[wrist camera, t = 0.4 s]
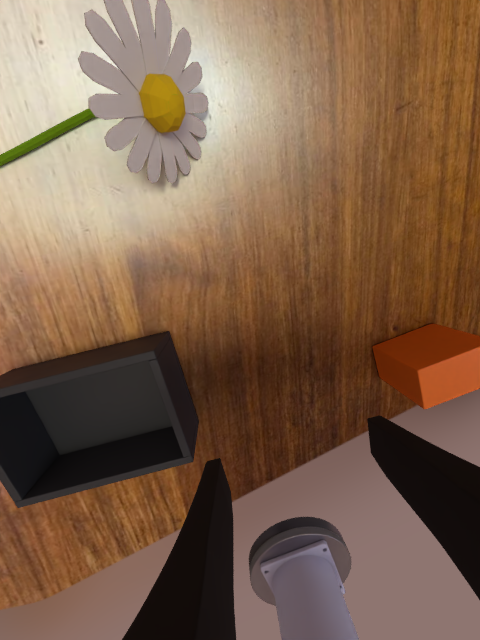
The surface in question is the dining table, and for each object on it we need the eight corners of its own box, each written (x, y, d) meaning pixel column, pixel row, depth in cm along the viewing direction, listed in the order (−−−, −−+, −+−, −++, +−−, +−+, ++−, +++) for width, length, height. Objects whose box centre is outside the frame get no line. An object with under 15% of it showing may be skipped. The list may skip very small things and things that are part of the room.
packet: (437, 355, 22) (499, 381, 17) (378, 377, 22) (424, 410, 17) (432, 322, 21) (497, 340, 16) (371, 346, 21) (417, 370, 16)
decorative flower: (-162, 133, 8) (191, -57, 8) (-100, 86, 12) (157, -54, 11) (43, 264, 15) (240, 164, 15) (47, 213, 18) (211, 129, 18)
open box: (199, 421, 21) (193, 461, 17) (60, 457, 21) (17, 508, 16) (169, 330, 19) (153, 350, 14) (12, 369, 18) (-52, 401, 14)
